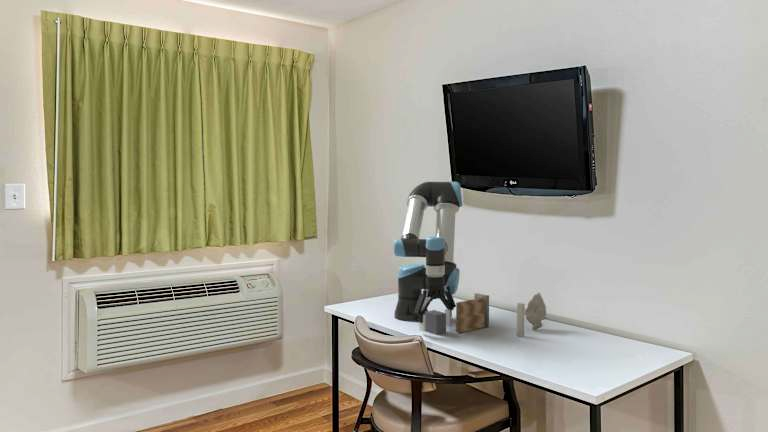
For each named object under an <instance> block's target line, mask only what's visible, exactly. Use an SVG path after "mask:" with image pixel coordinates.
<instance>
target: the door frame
mask: <svg viewBox="0 0 768 432" xmlns="http://www.w3.org/2000/svg"><path fill="white" fill-rule="evenodd" d="M478 298H485V327H484V328H489V327H490V295H487V294H482V293H478V292H476V293H474V299H478ZM516 305H517V308H516V309H517V310H516V337H519V338H524V337H525V310H526V309H525V308H526V307H525V303H523V302H517V304H516Z"/></svg>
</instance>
